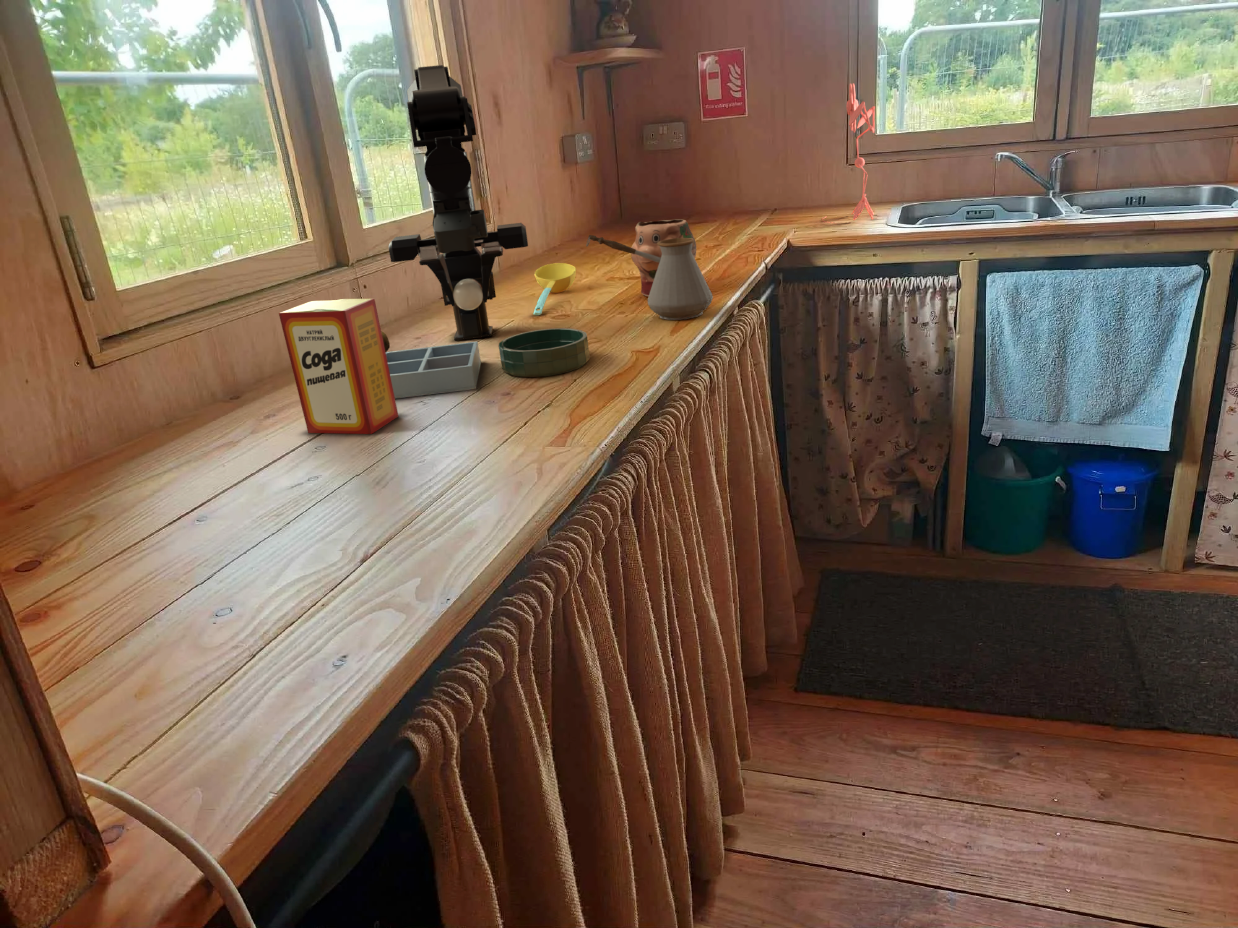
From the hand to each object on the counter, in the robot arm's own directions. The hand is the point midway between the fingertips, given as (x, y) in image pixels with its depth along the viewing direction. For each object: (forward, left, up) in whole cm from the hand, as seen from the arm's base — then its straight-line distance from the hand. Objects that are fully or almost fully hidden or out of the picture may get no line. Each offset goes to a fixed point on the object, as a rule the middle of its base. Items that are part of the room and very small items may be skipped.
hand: (469, 304), depth 124 cm
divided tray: (-2, -8, -11) cm, 14 cm away
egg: (0, 0, -1) cm, 1 cm away
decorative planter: (-48, +35, -11) cm, 60 cm away
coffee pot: (-27, +29, -11) cm, 41 cm away
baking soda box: (+15, -16, -11) cm, 25 cm away
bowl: (-3, +10, -11) cm, 15 cm away
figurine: (-120, +96, -11) cm, 155 cm away
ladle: (-52, +11, -11) cm, 55 cm away
